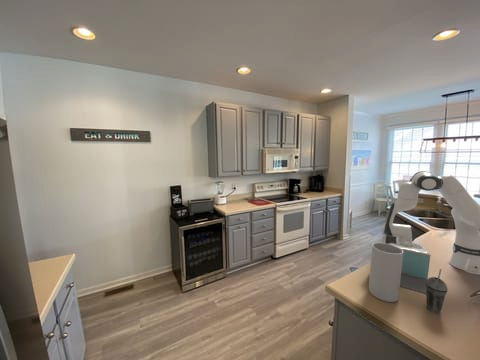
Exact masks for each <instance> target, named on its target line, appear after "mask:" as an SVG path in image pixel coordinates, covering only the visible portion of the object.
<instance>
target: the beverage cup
mask: <svg viewBox="0 0 480 360" xmlns="http://www.w3.org/2000/svg"><path fill="white" fill-rule="evenodd" d="M441 273H442V268H439V271H438V276H437V277H435V276H432V277H428V279H427V281H426V283H425V284H426V294H425V295H426V296H425V297H426V298H425V299H426V300H425V301H426V302H425V303H426V309H427V310H428V311H430V312H431V313H433V314H436V315H437V314H438V315H439V314H441V311H442V308H443V306H444V301H445V298H446V295H447V294H448V286H447V284H446V282H445V281H443V279H441Z"/></svg>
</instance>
